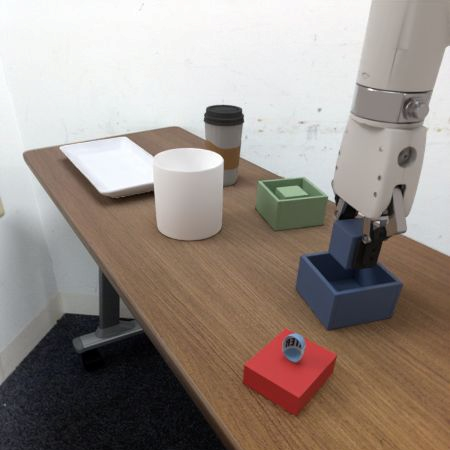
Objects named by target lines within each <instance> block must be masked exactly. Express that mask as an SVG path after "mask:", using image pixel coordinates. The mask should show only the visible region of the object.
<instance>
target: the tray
mask: <svg viewBox="0 0 450 450" xmlns="http://www.w3.org/2000/svg"><path fill="white" fill-rule="evenodd" d="M59 151H61V152H62V153H63V155H65V157H66V158H67V159H68V160H69V161H70V162H71V163H72V165H74V167H75V168H76V169H77V170H78V171H79V172H80V173H81V174H82V175H83V176H84V177H85V178H86V179H87V180H88V182H89V183H91V185H92V186H93V187H94V188H95V189H96V190H97V192H98V193H99V194H100V195H102V196H104V197H109V198H111V197H113V198H116V197H122V196H128V197H130V196H129V195H132V196H135V195H134V194H137V195H141V193H142V194H146V192H147V193H151V191H152V192H154V179H153V166H152V159H153V157H154V156H153V155H152V154H150V153H149V152H148V151H147V150H145V149H144V148H142V147H141V146H139V145H138V144H137V143H135V142H134V141H133V140H132V139H130V138H128V136H118V137H111V138H103V139H97V140H89V141H84V142H78V143H70V144H66V145H61V146H59ZM113 198H112V199H113Z"/></svg>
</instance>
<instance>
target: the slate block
mask: <svg viewBox="0 0 450 450" xmlns="http://www.w3.org/2000/svg"><path fill="white" fill-rule="evenodd" d="M336 220H337V221H336ZM336 220H334V221H333V225H332V231H331V235H330V240H329V245H328V250H327V251H328V252H329V253H330V254H331V255H332V256H333V257H334V258H335V259H336V260H337V261H338V262H339V263H340V264H341V265H342V266H343V267H344V268H345V269H350V268H352V263H353V259H354V255H355V250H356V246H357V242H358V240H360V239H362V235H363V224H364V216H363V217H355V218H354V219H346V220H338V219H336ZM378 227H379V226H377V225H376V224H374V225H373V230H375V229H376V228H378Z"/></svg>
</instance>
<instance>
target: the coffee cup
mask: <svg viewBox="0 0 450 450" xmlns="http://www.w3.org/2000/svg"><path fill="white" fill-rule="evenodd" d="M203 122H204V134H205V140H204V143H205V150H209V151H212V152H215V153H217V154H219V155H220V156H221V157H222V158H223V160H224V170H223V187H229V186H233V185H234V184H236V181H237V180H238V174H239V173H238V171H239V166H240V160H241V159H240V157H241V151H242V138H243V127H244V123H245V114H244V113H243V108H242V107H240V106H237V105H232V104H213V105H209V106H206V107H205V112H204V113H203Z"/></svg>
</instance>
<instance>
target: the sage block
mask: <svg viewBox="0 0 450 450" xmlns="http://www.w3.org/2000/svg"><path fill="white" fill-rule="evenodd" d="M275 196H276V197H277V198H278V199H279V200H285V199H294V198H304V197H308V194H307V193H306V192H305V191H304V190H302V189H301V188H300V187H299V186H288V187H278V188H276V193H275Z"/></svg>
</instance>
